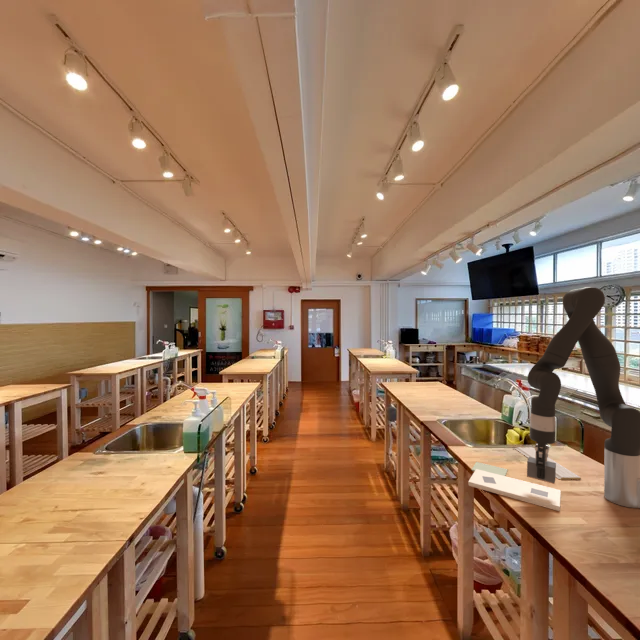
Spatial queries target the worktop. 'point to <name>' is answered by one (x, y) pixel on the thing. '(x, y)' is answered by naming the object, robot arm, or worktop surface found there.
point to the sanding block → (549, 470)
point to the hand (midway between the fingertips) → (541, 474)
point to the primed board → (516, 489)
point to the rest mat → (489, 468)
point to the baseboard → (560, 470)
